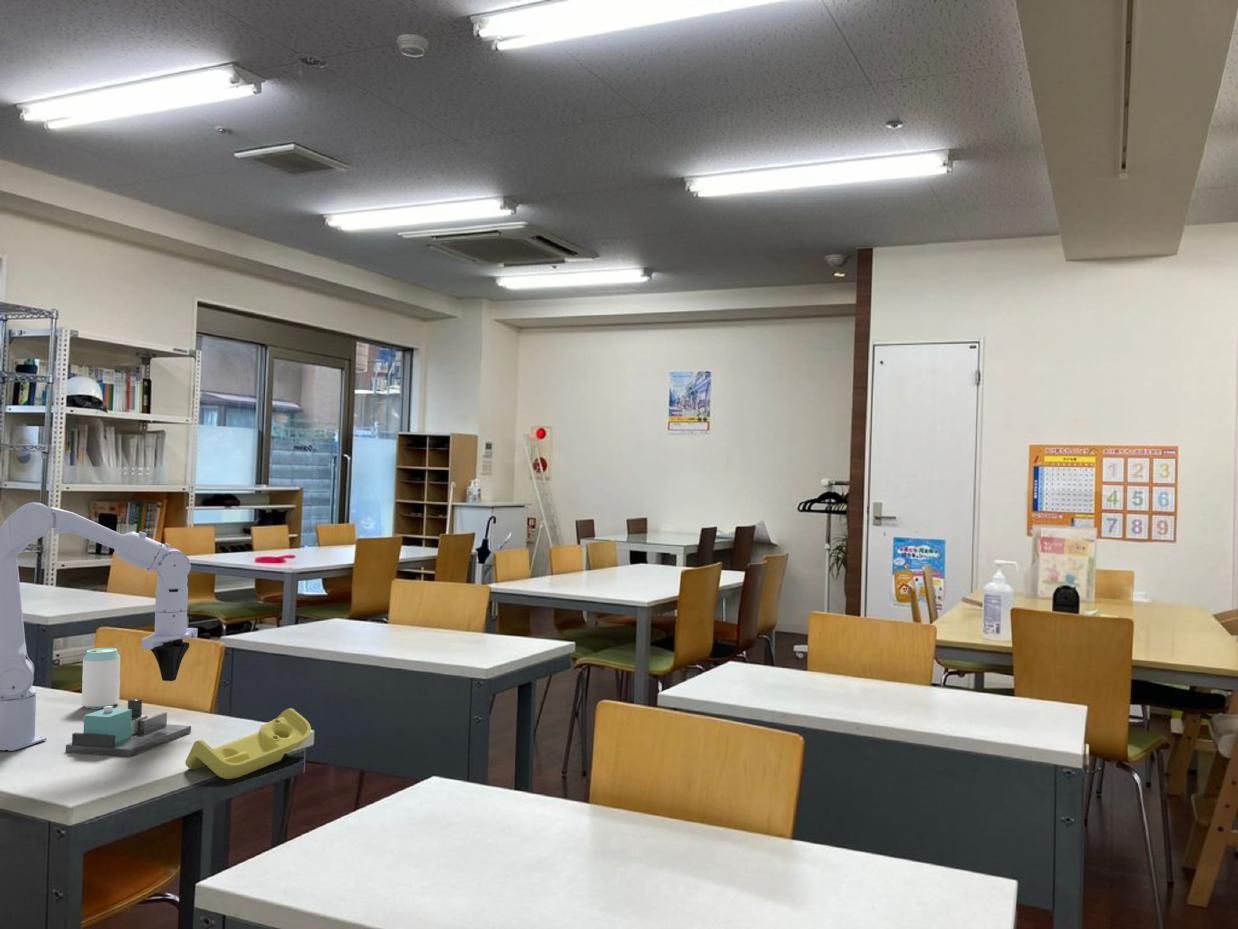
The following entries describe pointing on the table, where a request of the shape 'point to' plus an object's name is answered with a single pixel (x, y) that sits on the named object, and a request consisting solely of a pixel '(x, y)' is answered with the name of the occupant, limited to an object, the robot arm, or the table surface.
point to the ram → (136, 714)
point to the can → (101, 678)
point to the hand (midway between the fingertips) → (169, 680)
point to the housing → (109, 722)
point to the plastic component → (252, 747)
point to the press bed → (149, 736)
